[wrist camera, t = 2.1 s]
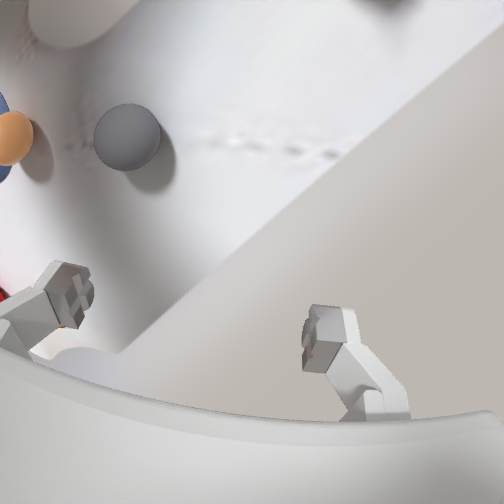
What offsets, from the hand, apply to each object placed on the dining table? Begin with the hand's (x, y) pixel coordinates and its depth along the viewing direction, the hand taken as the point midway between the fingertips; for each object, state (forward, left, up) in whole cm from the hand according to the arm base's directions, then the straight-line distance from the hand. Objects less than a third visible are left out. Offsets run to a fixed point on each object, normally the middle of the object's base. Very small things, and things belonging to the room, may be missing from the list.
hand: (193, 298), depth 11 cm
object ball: (0, -23, -15) cm, 28 cm away
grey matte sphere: (0, -9, -15) cm, 18 cm away
